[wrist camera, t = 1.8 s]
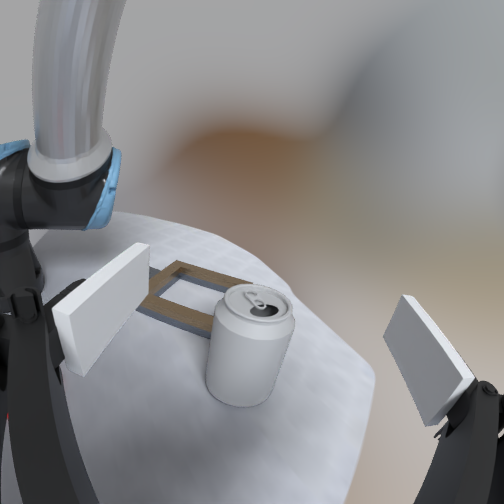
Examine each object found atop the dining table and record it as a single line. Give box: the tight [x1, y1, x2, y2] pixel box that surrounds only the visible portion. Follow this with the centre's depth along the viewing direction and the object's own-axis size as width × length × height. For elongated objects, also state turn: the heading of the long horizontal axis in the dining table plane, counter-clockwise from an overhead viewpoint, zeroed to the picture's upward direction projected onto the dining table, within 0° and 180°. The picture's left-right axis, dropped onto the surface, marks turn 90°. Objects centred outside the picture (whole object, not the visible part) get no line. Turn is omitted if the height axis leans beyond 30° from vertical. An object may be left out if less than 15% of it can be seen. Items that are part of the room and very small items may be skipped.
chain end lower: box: [136, 266, 229, 339], centre depth 43 cm, size 21×15×3 cm
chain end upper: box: [140, 260, 253, 332], centre depth 42 cm, size 21×15×4 cm
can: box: [206, 284, 295, 407], centre depth 26 cm, size 8×8×12 cm
